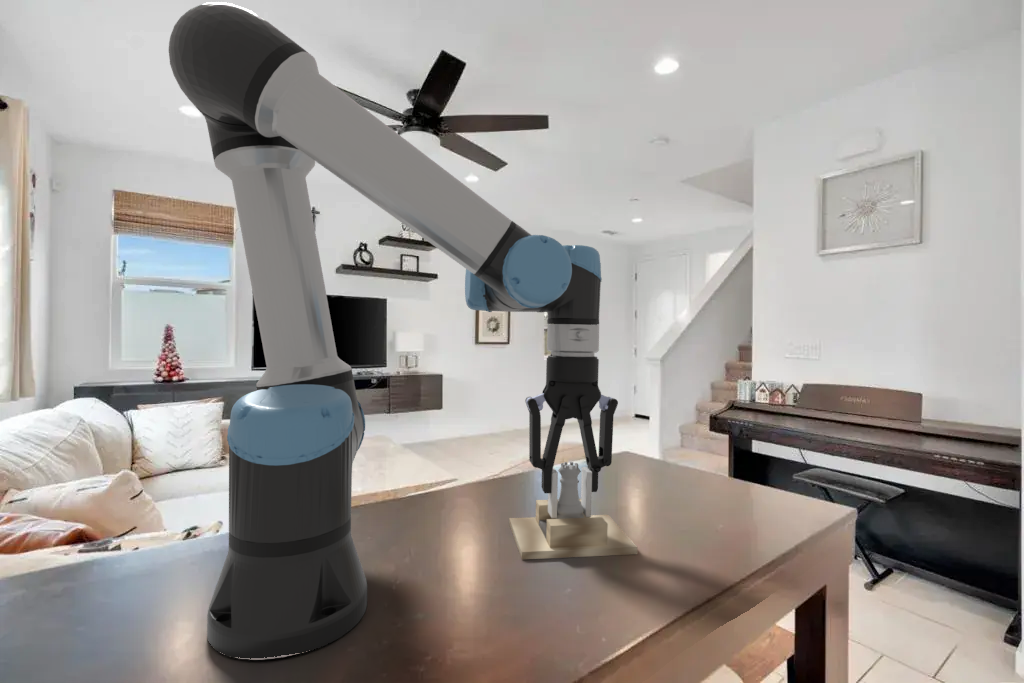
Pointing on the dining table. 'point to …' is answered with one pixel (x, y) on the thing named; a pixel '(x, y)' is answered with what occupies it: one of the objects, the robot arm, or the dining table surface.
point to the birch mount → (568, 536)
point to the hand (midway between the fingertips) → (569, 513)
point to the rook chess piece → (569, 493)
